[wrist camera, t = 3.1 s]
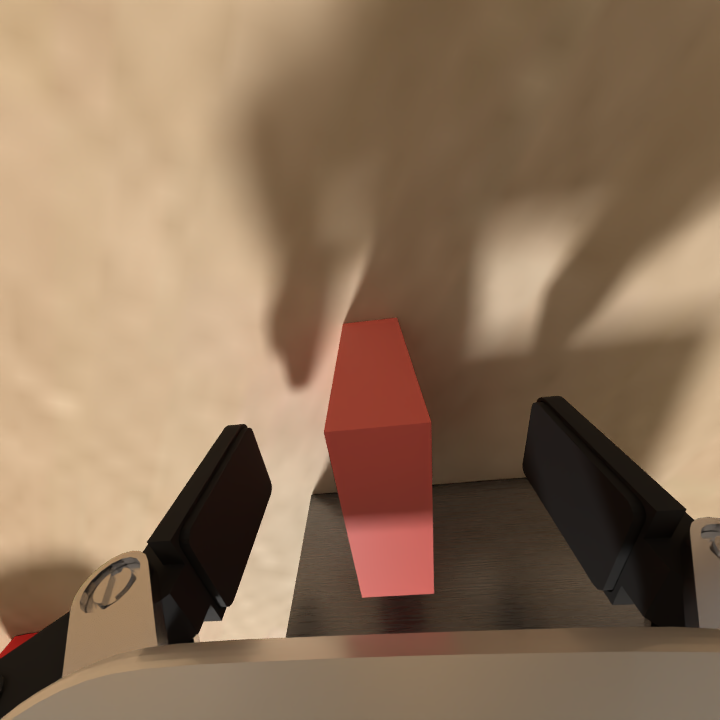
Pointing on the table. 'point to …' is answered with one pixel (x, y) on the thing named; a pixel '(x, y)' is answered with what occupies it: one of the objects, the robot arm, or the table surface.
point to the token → (382, 460)
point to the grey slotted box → (456, 571)
